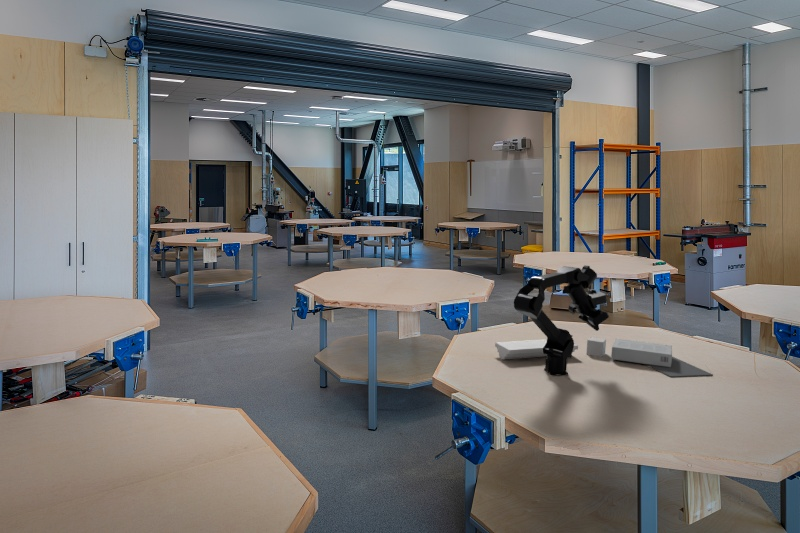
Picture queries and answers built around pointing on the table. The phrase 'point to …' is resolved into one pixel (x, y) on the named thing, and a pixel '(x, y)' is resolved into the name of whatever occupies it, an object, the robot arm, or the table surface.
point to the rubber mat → (680, 369)
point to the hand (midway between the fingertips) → (597, 330)
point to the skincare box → (642, 352)
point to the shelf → (523, 349)
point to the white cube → (596, 346)
